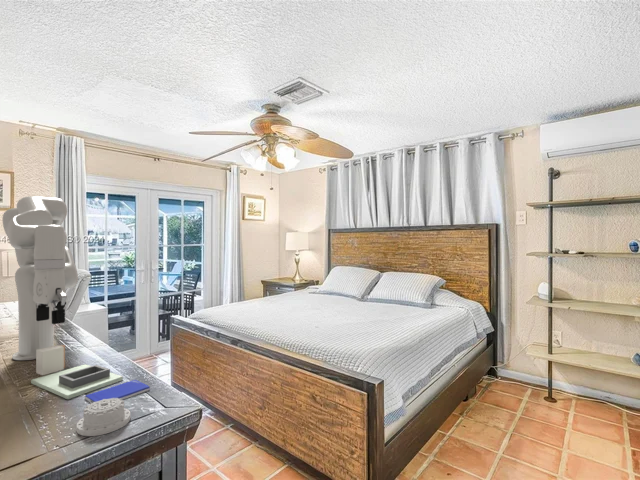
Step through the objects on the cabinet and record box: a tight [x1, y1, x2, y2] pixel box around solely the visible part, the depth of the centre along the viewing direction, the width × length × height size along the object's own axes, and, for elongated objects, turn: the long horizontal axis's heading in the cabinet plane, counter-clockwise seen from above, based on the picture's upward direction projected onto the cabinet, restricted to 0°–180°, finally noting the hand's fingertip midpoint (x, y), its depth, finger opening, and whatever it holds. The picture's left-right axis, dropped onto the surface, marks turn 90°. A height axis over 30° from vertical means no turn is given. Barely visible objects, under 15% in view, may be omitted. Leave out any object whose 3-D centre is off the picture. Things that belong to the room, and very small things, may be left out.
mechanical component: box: [76, 398, 131, 437], centre depth 76 cm, size 10×4×10 cm
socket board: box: [30, 364, 124, 400], centre depth 98 cm, size 20×14×3 cm
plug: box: [35, 344, 66, 376], centre depth 107 cm, size 4×6×7 cm, turn 150°
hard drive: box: [84, 379, 151, 404], centre depth 90 cm, size 2×8×12 cm
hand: (50, 321), depth 106 cm, fingers open, 9 cm apart
